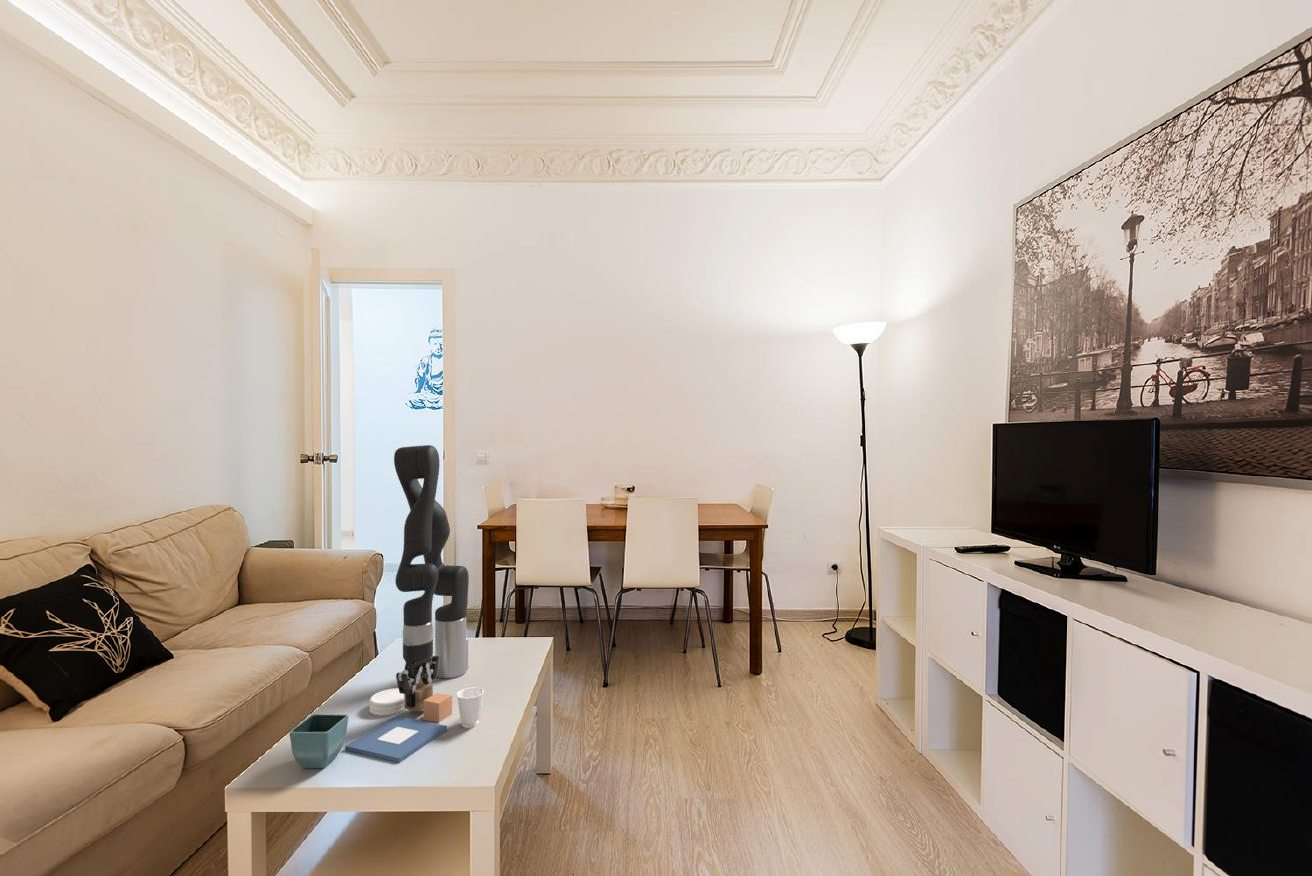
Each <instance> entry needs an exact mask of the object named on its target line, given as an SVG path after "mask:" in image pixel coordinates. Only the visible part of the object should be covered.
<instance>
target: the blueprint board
mask: <svg viewBox="0 0 1312 876" xmlns="http://www.w3.org/2000/svg"><path fill="white" fill-rule="evenodd" d="M447 730H448V725H444V724H439V723H436V722H431V721H426V720H425V721H424V720H419V719H415V718H409V717H403V716H399V715H396V716H394V717H392V718H390V719H388V720H387V721H385V722H383V723H382V724H379V726H376V727H375V728H373V729H372V730H370V731H368V732H366V733H365V734H363V735H362V736H360V737H359V736H358V738H356V739H354V740H352V741H351V742H349V743H347V744H346V745H345V747H344V748H345V751H346V752H347V751H348V752H352V753H355V754H361V755H365V756H369V757H373V758H377V759H382V760H386V761H391V762H394V763H399V764H400V763H401V762H403V761H405V760H406V759H407V758H409V757H410V756H412V755H413V754H415V753H416V752H417V751H419V750H421V749H422V748H424V746H426V745H427V744H429V743H430V742H432V741H433V740H435V739H436V738H437V737H439V736H440V735H442V734H443V733H445V732H446V731H447Z"/></svg>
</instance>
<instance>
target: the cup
mask: <svg viewBox="0 0 1312 876" xmlns="http://www.w3.org/2000/svg"><path fill="white" fill-rule="evenodd" d="M484 697H485V691H484V688H481V687H478V686H477V687H476V686H471V687H466V688H462V689H461V690H459V691H457V692H456V698H457V702H458V710H459V717H460V720H461V727H462V728H466V729H470V728H475V727H477V726H478V725H479V724H480V719H481V718H480V717H481V716H482V715H481V714H482V711H483V702H484Z"/></svg>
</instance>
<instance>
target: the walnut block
mask: <svg viewBox="0 0 1312 876" xmlns="http://www.w3.org/2000/svg"><path fill="white" fill-rule="evenodd" d="M433 686H434V685H433V684H432V683H431V684H425V683H422V682H419V683H418V684H417V685H416V690H415V707H414V708H410V707H407V705H406V694H404V709H405V710H410V711H415V712H422V711H424V700H425V699H427V698H429V697H431V696H432V695H434V694H433V693H434V691H433V690H434V688H433ZM411 687H412V685H410V689H411Z"/></svg>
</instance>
